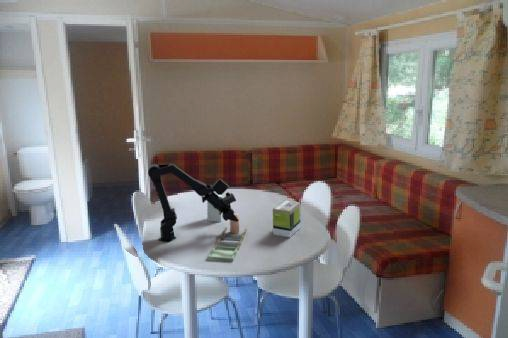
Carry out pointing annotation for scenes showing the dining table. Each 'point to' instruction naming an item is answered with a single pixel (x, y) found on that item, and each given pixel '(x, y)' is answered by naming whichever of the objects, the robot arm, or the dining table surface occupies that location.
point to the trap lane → (226, 247)
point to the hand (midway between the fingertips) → (237, 219)
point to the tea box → (286, 218)
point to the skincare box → (213, 213)
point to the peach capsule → (234, 225)
